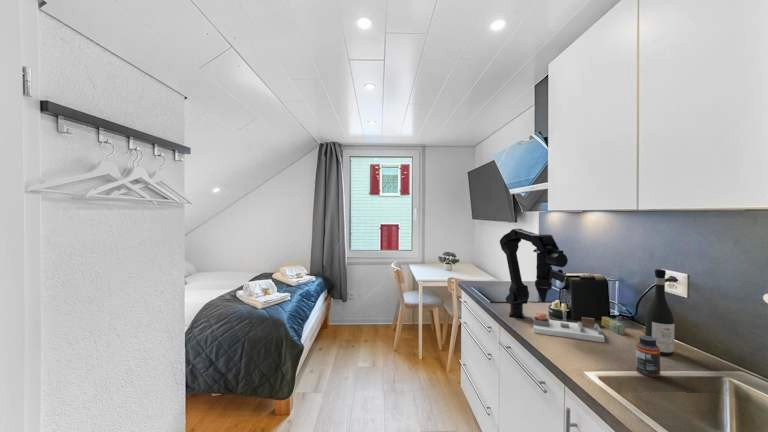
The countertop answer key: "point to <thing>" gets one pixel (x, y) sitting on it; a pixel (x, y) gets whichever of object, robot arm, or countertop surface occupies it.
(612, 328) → the medication box
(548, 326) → the control panel
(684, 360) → the countertop surface
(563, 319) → the toggle lever
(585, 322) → the paddle
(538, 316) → the push button
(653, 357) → the supplement bottle
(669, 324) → the wine bottle
